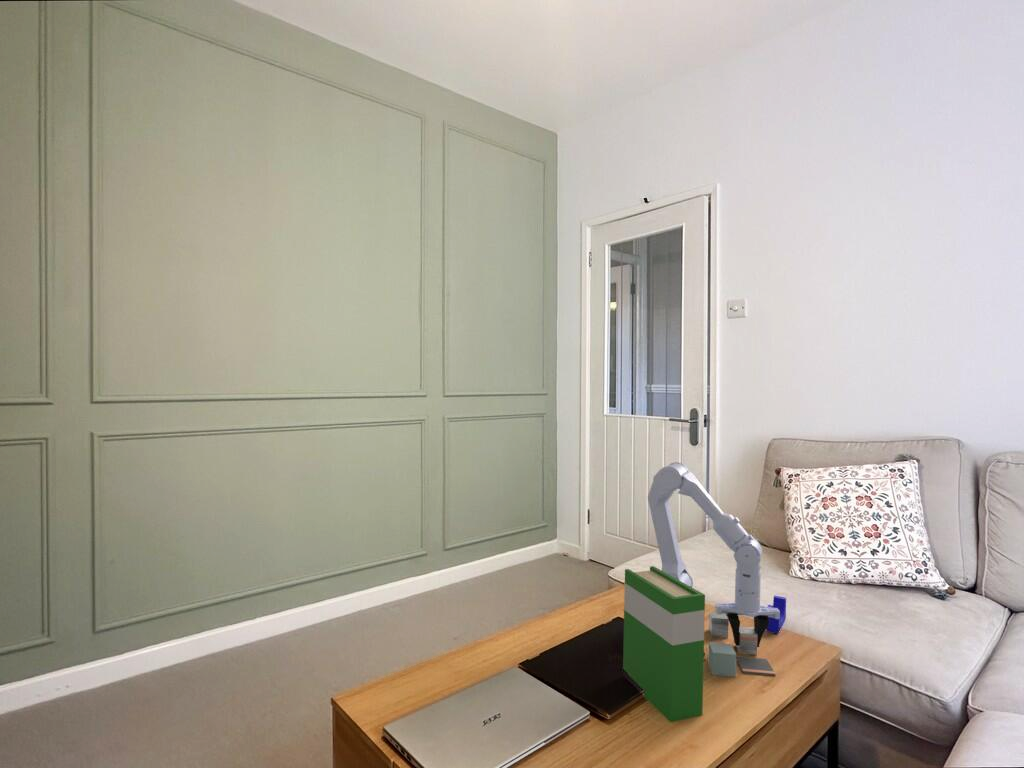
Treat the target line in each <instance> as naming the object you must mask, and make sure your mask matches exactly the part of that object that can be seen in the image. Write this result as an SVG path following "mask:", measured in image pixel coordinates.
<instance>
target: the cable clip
mask: <svg viewBox="0 0 1024 768" xmlns="http://www.w3.org/2000/svg"><path fill="white" fill-rule="evenodd" d="M767 607H771V608H777V609H778V610H779V611H780V618H779V619H775V618H772V617H768V620H769V626H768V627H767V628H766V630H767V631H770V632H769V633H771V632H775V633H779V634H780V632H781V630H780V629H782V627H783V625H784V623H785V622H786V619H787V618H786V617H787V597H784V596H778V595H776V594H775V595H773V603H772V604H767ZM766 630H765V631H766ZM767 631H766V632H767ZM779 631H780V632H779ZM775 633H774V634H775Z"/></svg>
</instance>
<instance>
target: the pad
mask: <svg viewBox="0 0 1024 768" xmlns="http://www.w3.org/2000/svg"><path fill="white" fill-rule="evenodd" d="M736 659H737V660H736V663H737V664H738V666H739V668H740V670H741V672H742V673H743V674H751V675H763V676H770V677H771V676H772V677H776V672H775V671H774V669H773V667H772V665H771V663H770V662H769V660H768V659H767V658H761V657H760V658H759V657H748V656H746V657H745V656H738V655H736Z"/></svg>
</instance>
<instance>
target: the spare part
mask: <svg viewBox="0 0 1024 768" xmlns="http://www.w3.org/2000/svg"><path fill="white" fill-rule="evenodd" d="M757 635H758V634H757V633H756V631H755V630H754V626H741V625H740V627H739V646H737V645H735V647H736V648H737V651H738V653H739V654H740V653H743V654H742V655H751V654H757V655H758V647H757V641H758V638H757ZM744 653H745V654H744Z"/></svg>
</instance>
